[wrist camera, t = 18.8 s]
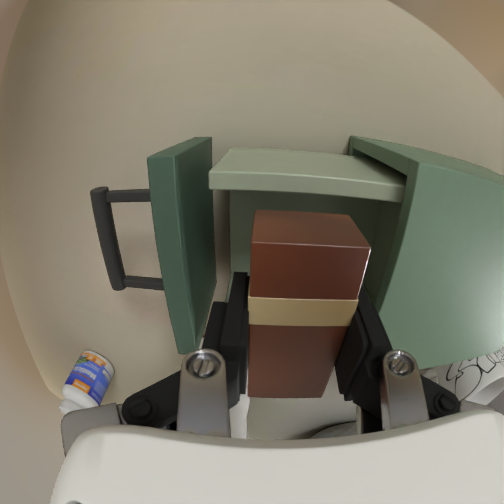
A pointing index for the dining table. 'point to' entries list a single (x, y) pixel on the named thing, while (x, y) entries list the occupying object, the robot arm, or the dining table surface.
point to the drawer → (243, 216)
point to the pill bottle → (86, 382)
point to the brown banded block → (300, 299)
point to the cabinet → (442, 257)
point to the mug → (472, 378)
